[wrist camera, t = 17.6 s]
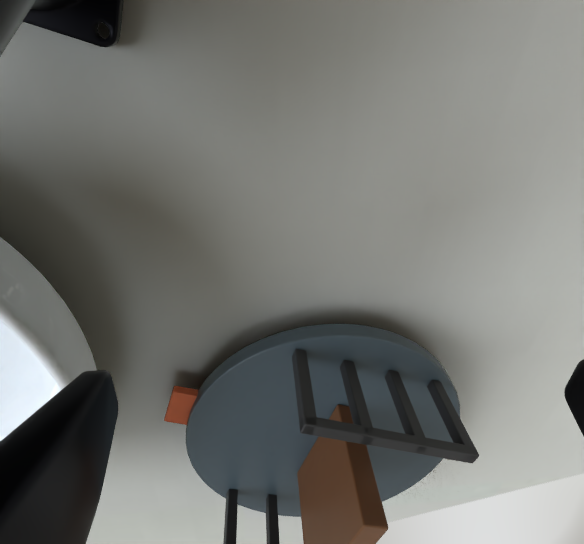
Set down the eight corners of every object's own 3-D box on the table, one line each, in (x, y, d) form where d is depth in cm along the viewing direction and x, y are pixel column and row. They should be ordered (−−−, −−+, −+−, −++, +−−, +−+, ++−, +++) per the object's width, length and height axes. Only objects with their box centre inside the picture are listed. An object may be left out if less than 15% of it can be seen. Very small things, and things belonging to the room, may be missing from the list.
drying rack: (506, 359, 23) (601, 485, 17) (380, 514, 31) (413, 642, 24) (205, 283, 19) (180, 412, 13) (144, 483, 26) (109, 628, 20)
